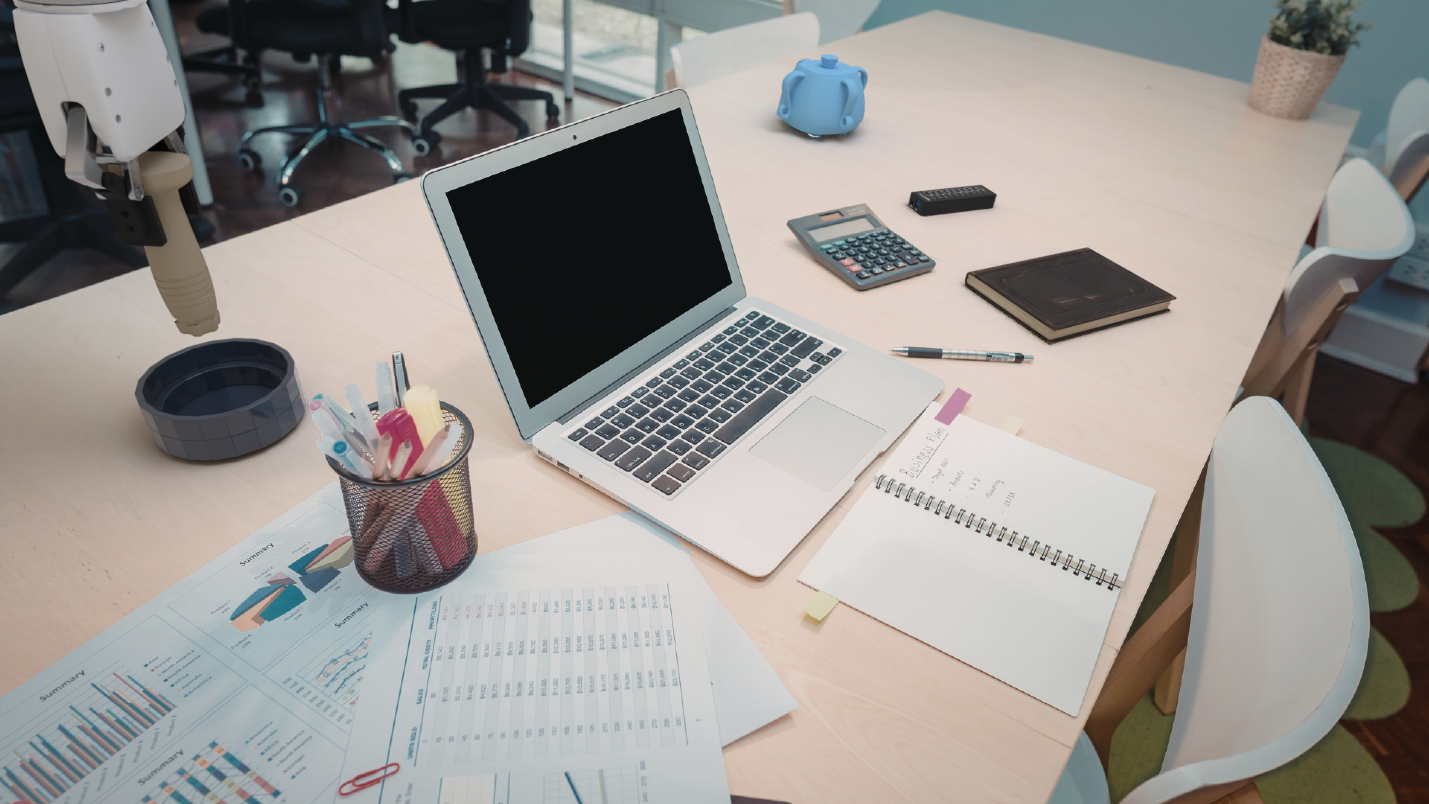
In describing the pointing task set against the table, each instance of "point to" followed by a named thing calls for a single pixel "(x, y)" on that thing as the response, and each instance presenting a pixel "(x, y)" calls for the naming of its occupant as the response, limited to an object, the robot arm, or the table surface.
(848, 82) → the decorative pot
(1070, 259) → the hardcover book
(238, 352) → the bowl
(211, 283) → the handle
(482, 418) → the table surface
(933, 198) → the multiport hub
